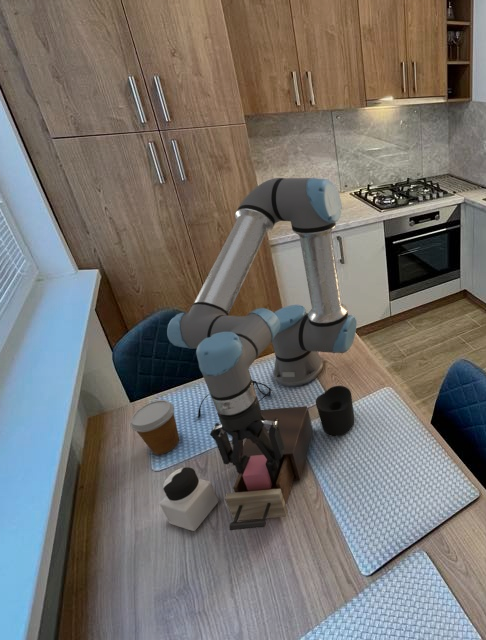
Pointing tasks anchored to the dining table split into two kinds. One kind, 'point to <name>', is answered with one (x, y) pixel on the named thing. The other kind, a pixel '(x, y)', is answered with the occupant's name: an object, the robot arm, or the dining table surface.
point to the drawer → (260, 499)
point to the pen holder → (336, 410)
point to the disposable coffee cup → (156, 426)
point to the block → (257, 474)
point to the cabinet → (288, 435)
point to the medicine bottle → (187, 499)
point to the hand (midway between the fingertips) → (262, 479)
